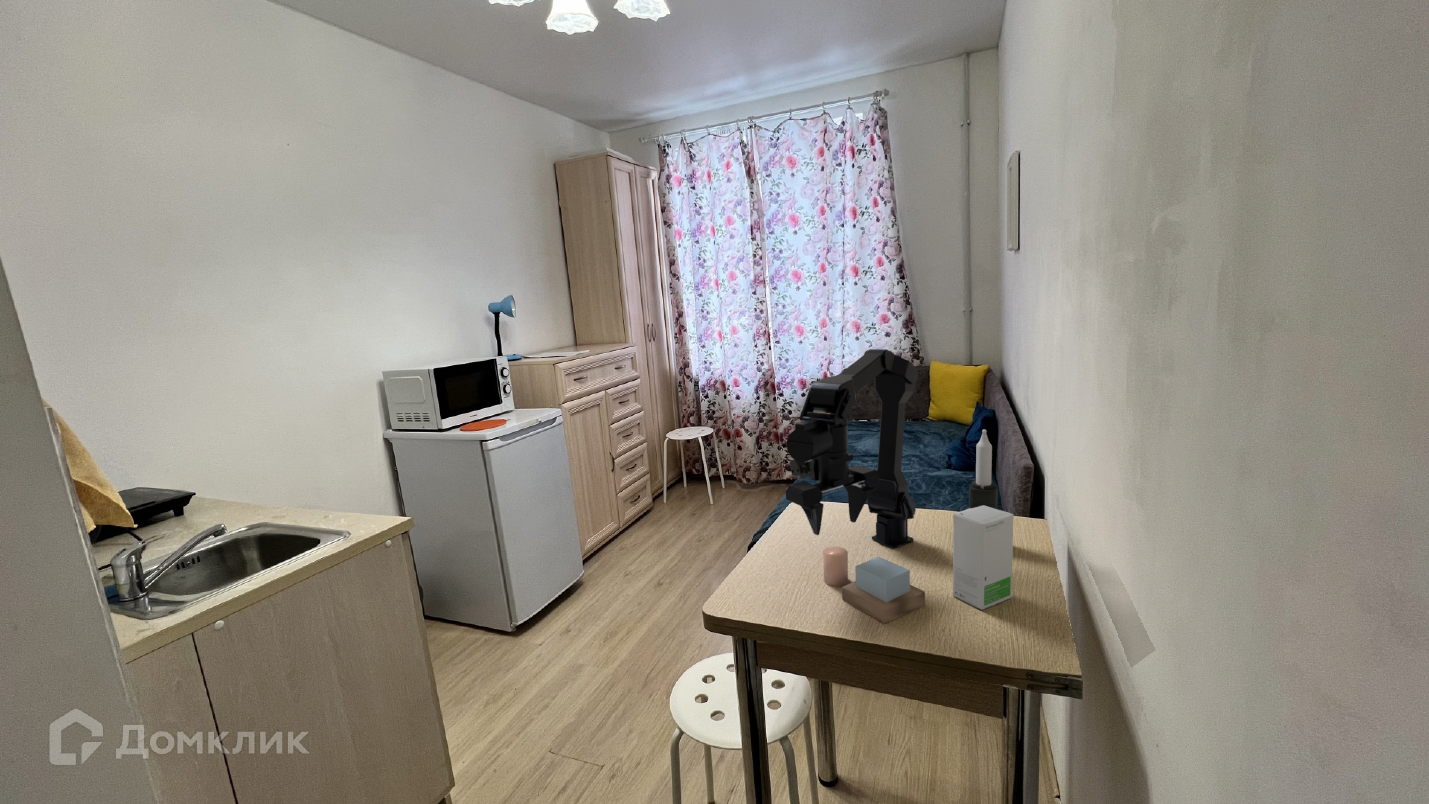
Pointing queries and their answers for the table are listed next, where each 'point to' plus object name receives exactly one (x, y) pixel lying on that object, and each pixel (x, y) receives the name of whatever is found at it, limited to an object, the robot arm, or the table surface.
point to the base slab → (880, 608)
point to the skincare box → (982, 556)
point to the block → (882, 579)
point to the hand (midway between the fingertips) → (835, 528)
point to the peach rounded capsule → (835, 566)
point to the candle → (983, 477)
